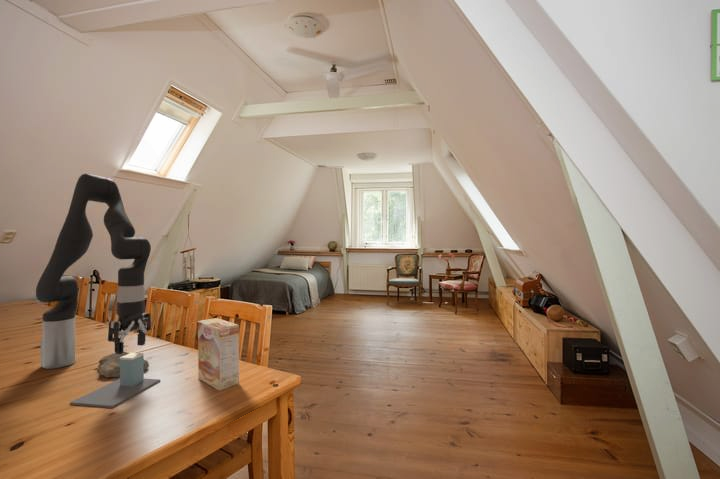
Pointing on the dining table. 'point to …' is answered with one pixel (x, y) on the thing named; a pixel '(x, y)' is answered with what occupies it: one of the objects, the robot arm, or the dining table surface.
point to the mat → (113, 394)
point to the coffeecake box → (218, 353)
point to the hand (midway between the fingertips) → (130, 349)
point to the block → (131, 369)
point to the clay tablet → (114, 365)
